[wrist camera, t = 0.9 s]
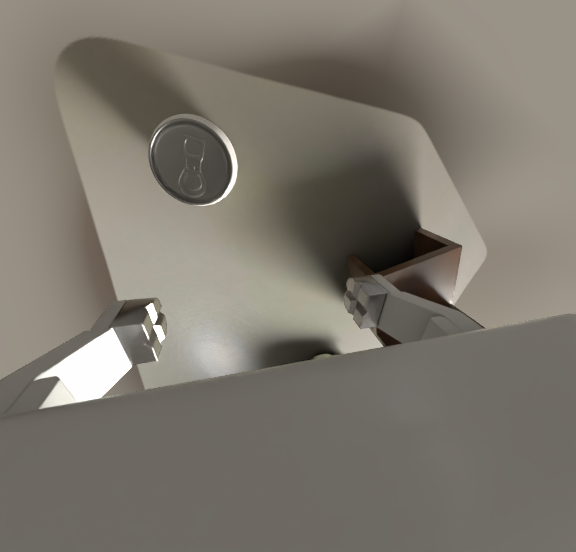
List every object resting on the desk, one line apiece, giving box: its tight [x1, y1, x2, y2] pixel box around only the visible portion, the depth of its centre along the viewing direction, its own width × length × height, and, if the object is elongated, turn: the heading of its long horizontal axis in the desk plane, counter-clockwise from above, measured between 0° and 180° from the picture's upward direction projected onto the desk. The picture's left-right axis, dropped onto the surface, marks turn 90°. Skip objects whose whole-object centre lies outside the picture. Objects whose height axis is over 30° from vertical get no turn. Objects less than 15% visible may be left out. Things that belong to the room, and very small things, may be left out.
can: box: [149, 114, 237, 206], centre depth 21 cm, size 6×6×12 cm
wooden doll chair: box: [347, 228, 486, 347], centre depth 35 cm, size 14×12×14 cm
